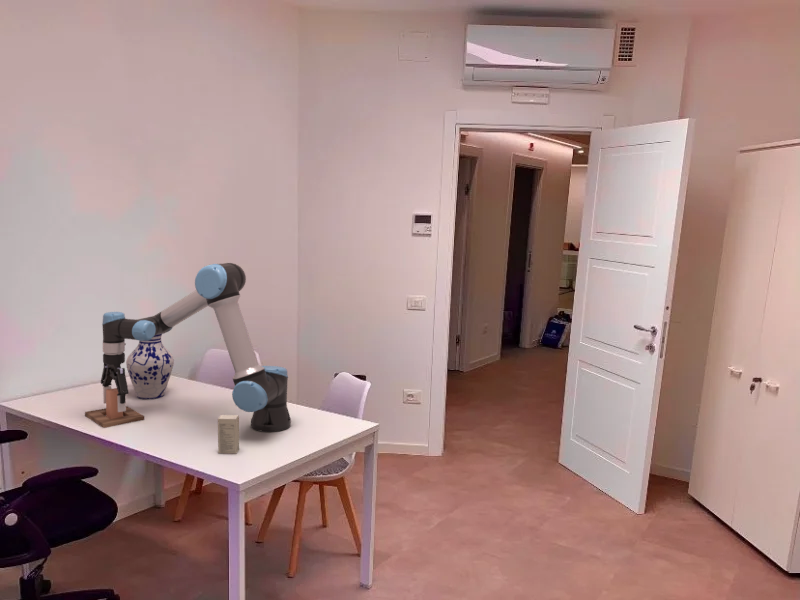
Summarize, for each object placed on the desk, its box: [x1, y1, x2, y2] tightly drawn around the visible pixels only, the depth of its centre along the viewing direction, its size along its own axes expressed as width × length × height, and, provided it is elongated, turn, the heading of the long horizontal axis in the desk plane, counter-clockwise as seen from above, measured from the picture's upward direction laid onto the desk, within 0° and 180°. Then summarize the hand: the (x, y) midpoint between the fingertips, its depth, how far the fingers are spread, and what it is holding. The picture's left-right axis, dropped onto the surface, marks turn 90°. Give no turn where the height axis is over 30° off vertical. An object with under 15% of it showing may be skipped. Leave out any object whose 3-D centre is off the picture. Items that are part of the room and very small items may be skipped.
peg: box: [105, 387, 124, 419], centre depth 230 cm, size 4×4×11 cm
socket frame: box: [84, 405, 145, 429], centre depth 231 cm, size 18×15×2 cm
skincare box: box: [217, 414, 240, 455], centre depth 203 cm, size 6×4×12 cm
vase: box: [125, 334, 175, 400], centre depth 260 cm, size 19×19×30 cm
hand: (114, 407), depth 231 cm, fingers open, 13 cm apart
